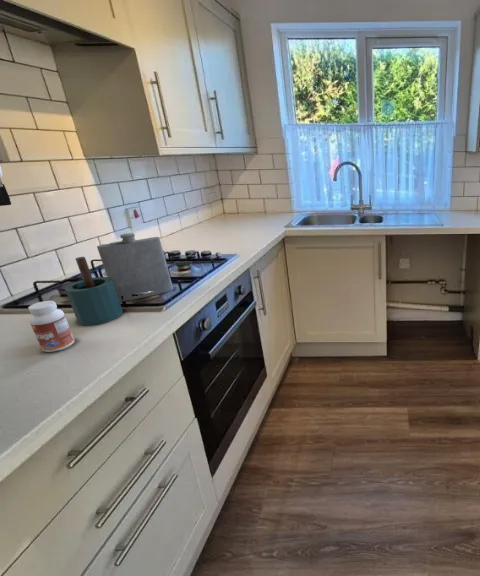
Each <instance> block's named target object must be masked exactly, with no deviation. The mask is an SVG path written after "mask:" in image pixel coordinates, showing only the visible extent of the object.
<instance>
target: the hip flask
mask: <svg viewBox="0 0 480 576" xmlns="http://www.w3.org/2000/svg"><path fill="white" fill-rule="evenodd" d="M119 237H120V239H121V240H119V241H113V242H109V243H103V244H99V245H97V246H96V248H97V251H98V254H99V258H100V260H101V263H102V266H103V269H104V272H105V275H106V277H108V278H111V279H112V280H113V283H114V286H115V289H116V292H117V295H118V298H119V301H120V303H121V302H127V301H133V300H138V299H143V298H148V297H152V296H156V295H160V294H164V293H168V292H171V291H173V290H174V287H173V282H172V280H171V275H170V271H169V267H168V264H167V260H166V257H165V252H164V249H163V245H162V241H161V238H160V237H159V236H151V237H147V238H141V239H136V238H135V237H136V234H135V233H134V232H127V233H122V234H120V235H119ZM148 291H155V292H152V293H148V294H143V295H138V296H133V297H132V294H135V293H141V292H148ZM121 296H123V297H124V298H123V300H122V299H121Z"/></svg>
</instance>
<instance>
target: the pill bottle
mask: <svg viewBox="0 0 480 576" xmlns="http://www.w3.org/2000/svg"><path fill="white" fill-rule="evenodd" d="M27 308H28V311H29V313H30V315H31V316H30V317H29V319H28V321H29V325H30V326H31V329H32V332H33V334H34V336H35V338H36V340H37V342H38V344H39V347H40V349H41V351H43V352H45V353H53V352H58V351H62V350H65V349H68V348H69V347H70V346H72V345H73V344H74V343H75V337H74V335H73V332H72V330H71V327H70V324H69V322H68V320H67V317H66V314H65V312H64V311H63V310H61V309H59V308H58V306H57V303H56V302H55V300H44V301H38V302H36V303H33V304H31V305H30V306H28V307H27Z"/></svg>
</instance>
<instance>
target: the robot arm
mask: <svg viewBox="0 0 480 576" xmlns="http://www.w3.org/2000/svg"><path fill="white" fill-rule="evenodd" d="M3 176H4V175H3V170H2V165H0V207H4V206H11V205H12V201H11V198H10V196H9V193H8V190H7V188H6V186H5V184H4V183H3V182H2V179H1V178H3Z"/></svg>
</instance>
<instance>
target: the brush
mask: <svg viewBox="0 0 480 576" xmlns="http://www.w3.org/2000/svg"><path fill="white" fill-rule="evenodd" d="M75 261H76V265H77V267H78V270H79V273H80V276H81V278H82V280H83V281H84V284H85V286H86V288H91V287H95V284H94V281H93V278H94V277H93V275H92V273H91V269H90V267H89V264H88V262H87V258H86V256H78V257H75Z"/></svg>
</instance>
